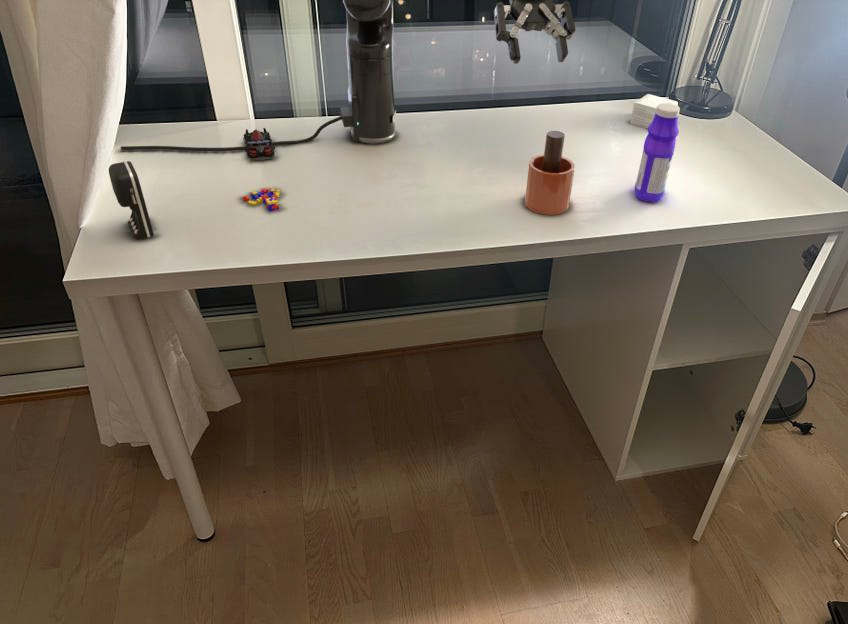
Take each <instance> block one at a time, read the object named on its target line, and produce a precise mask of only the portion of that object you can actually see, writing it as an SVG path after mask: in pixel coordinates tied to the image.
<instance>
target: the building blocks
mask: <svg viewBox="0 0 848 624" xmlns="http://www.w3.org/2000/svg"><path fill="white" fill-rule="evenodd" d="M264 194H265V195H264ZM280 195H281V193H280V189H276V188H274V187H272V186H269V188H262V189H261V190H260V192H257V191H256V190H254V191H252V190H249V196H250V197H251V200H250V198H249V197H247V196H246V195H245V196H242V200H243V201H244V202H245V203H246V202H248V205H249V206H257V205H259V204H260V203H261V204H262V203H263V204H264V205H265V207H266V208H267V210H268V211H269V212H273V211H278V210H279V209H280V207H279V201H278V199H277V198H280ZM254 200H256V201H254Z"/></svg>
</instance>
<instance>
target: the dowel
mask: <svg viewBox="0 0 848 624" xmlns="http://www.w3.org/2000/svg"><path fill="white" fill-rule="evenodd" d="M565 136H566V135H565V133H564V132H562V131H559V130H550V131H547V132H546V136H545V142H544V143H545V144H544V151H543V152H544V153H543V155H544V159H543V167H542V171H544V172H549V173H560V166H561V159H562V157H563V150H564V144H565Z"/></svg>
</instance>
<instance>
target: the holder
mask: <svg viewBox="0 0 848 624" xmlns="http://www.w3.org/2000/svg"><path fill="white" fill-rule="evenodd" d="M543 159H544V154H540V155H536V156H533V157H532V158H531V159H529V161H528V170H527V178H526V188H525V197H524V205H525V207H527V209H529V211H532V212H533V213H536V214H540V215H546V216H554V215H555V216H556V215H560V214H563V213H565V212H567V211H568V209H569V206H570V201H571V194H572V188H573V182H574V175H575V168H576V167H575V166H576V165H575V163H574V162H573V160H570V159H569V158H567V157H564V156H562V159H561V166H560V173H549V172H544V171H542V167H543Z"/></svg>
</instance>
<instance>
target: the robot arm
mask: <svg viewBox="0 0 848 624" xmlns="http://www.w3.org/2000/svg"><path fill="white" fill-rule="evenodd" d="M342 3H343V4H344V5H343V6H344V7H345V9H346V38H345V43H346V57H347V76H348V87H347V98H348V106H341V107H340V116H337V117H334V118H332V119H330V120H329V121H327V122H324V123H323V124H322V125H320V126H319V127H318V128H317V130H316V131H315V132H314V134H313V135H311V136H310V137H309V136H308V137H307V138H304V139H299V140H298V139H297V140H280V141H272V144H273V145H274V147H276V146H284V145H285V146H286V145H298V144H303V143H305V144H306V143H308V142H311V141H313V140H314V139H316V138H317V137H318V136H319V134H320V133H321V131H323V130H324V129H325V128H326V127H328V126H330V125H333V124H334V123H337V122H339V121H341V122H342V125H343V127H344V128H349V130H350V134H351V138H352V140H353V142H354V143H364V144H370V145H371V144H372V145H374V144H377V145H378V144H383V143H387V142H390V141H392V140H393V139H395V137H396V125H395V121H396V118H397V110H395V81H394V76H395V75H394V0H342ZM572 12H573V11H572V7H571V3H570V1H569V0H564V1H563V2H562V3H557V4H555V2H554V1H553V0H509V5H507V4H504V3H503V2H502V1H497V4H496V6H495V8H494V10H493V18H494V19H493V20H494V29H495V30H494V31H495V40H496V41H497V42H504V43H506V45H507V51H508V56H509V59H510V61H511V62H512V63H513V64H514V65H515V64H519V63H520V61H521V58H522V57H521V50H520V43H519V38H518V37H517V36H518V35H519V33H520V31H521V29H522V30H524V32H532V31H536V32H542V30H543V31H544V32H545V33H546V34H547V36H551V37H552V39H553V40H554V41H555V50H556V55H557V56H556V57H557V61H558V63H564V61H565V60H566V59H567V56H568V55H569V48H568V40H570V39H571V38H572V37H573V35H574V34H575V33H576V25H575V20H574V15H573V13H572ZM555 13H556V15H557V17H556V16H555ZM508 14H509V16H510V17H511V18H512V19H513V21H514V22H515V23H514V25H513V26H512V28H511V30H510V31H509V30H507V23H506V18H507V17H508ZM559 19H560V21H559ZM549 23H550V24H549ZM560 23H561V24H560ZM246 146H247V145H244V146H230V147H228V146H227V147H226V146H225V147H198V146H197V147H194V146H172V145H131V146H130V145H128V146H123V145H122V146H120V150H121V151H142V150H143V151H145V150H146V151H148V150H150V151H153V150H155V151H157V150H159V151H163V150H164V151H183V152H185V151H187V152H237V151H245V150H244V149H245V147H246Z"/></svg>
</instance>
